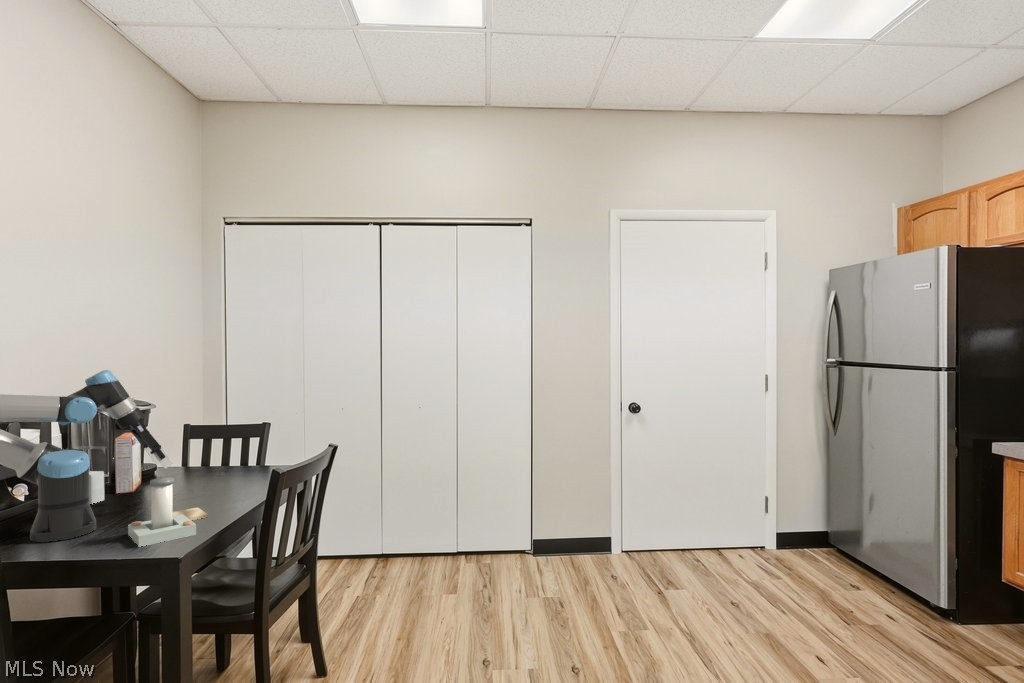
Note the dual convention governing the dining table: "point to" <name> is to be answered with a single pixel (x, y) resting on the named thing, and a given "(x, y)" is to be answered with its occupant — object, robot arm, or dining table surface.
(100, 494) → the small box
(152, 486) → the cylinder
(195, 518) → the board
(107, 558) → the dining table surface
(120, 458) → the cracker box
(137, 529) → the frame
